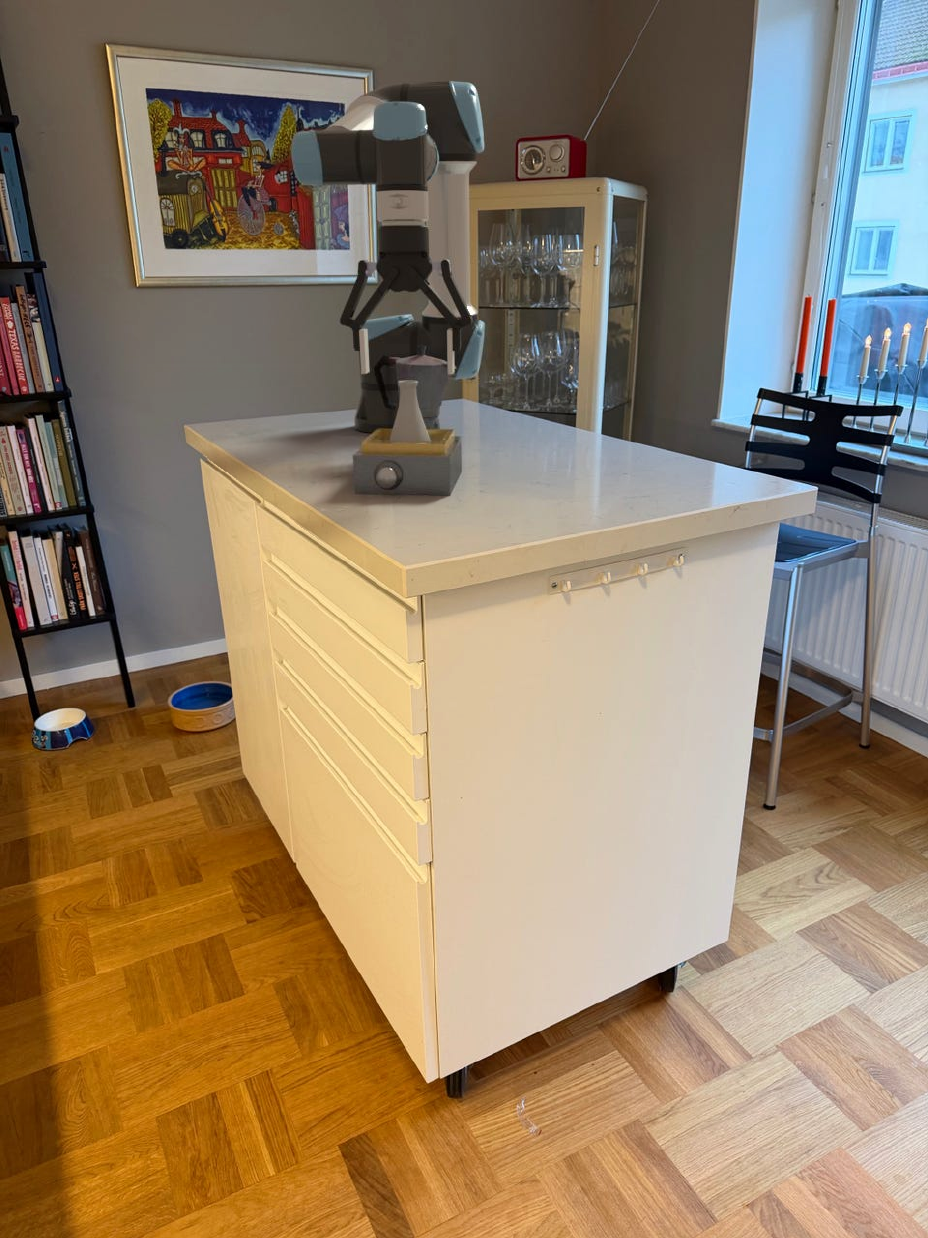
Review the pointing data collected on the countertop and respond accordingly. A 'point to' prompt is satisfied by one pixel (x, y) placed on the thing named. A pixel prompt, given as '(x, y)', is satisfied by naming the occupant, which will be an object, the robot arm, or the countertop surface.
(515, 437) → the countertop surface
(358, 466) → the plate
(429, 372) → the moka pot
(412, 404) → the flask
